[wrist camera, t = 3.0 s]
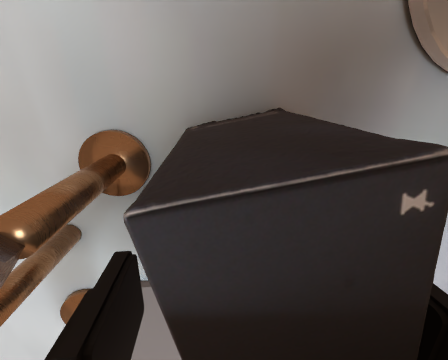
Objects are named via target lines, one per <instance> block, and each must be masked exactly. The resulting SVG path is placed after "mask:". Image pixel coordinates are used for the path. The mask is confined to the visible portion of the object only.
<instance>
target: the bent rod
mask: <svg viewBox="0 0 448 360" xmlns="http://www.w3.org/2000/svg"><path fill="white" fill-rule="evenodd" d="M78 159H79V167H80V171H78V172H76V173H74V174H73V175H71V176H69V177H67V178H66V179H64V180H62V181H60V182H59V183H57V184H55V185H53V186H52V187H50V188H48V189H46V190H45V191H43V192H41V193H39V194H37V195H36V196H34V197H32V198H30V199H29V200H27V201H25V202H23V203H22V204H20V205H18V206H16V207H15V208H13V209H11V210H9V211H8V212H6V213H4V214H2V215H0V326H1V325H2V324H3V323H4V322H5V321H6V320H7V319H8V318H9V317H10V315H11V314H12V313H13V312H14V311H15V310H16V309H17V308H18V307H19V306H20V304H21V303H22V302H23V301H24V300H25V299H26V298H27V297H28V296H29V295H30V293H31V292H32V291H33V290H34V289H35V288H36V287H37V286H38V285H39V284H40V282H41V281H42V280H43V279H44V278H45V277H46V276H47V275H48V274H49V273H50V271H51V270H52V269H53V268H54V267H55V266H56V265H57V264H58V263H59V262H60V260H61V259H62V258H63V257H64V256H65V255H66V254H67V253H68V252H69V251H70V249H71V248H72V247H73V246H74V245H75V244H76V243H77V242H78V241H79V240H80V238H81V232H80V230H79V229H78V228H77V227H75V226H73V225H66V224H67V223H68V222H70V221H71V220H72V219H73V218H74V217H75V216H76V215H77V214H79V213H80V212H81V211H82V210H83V209H84V208H85V207H86V206H88V205H89V204H90V203H91V202H92V201H93V200H94V199H95V198H96V197H98V196H99V195H100V194H101V193H105V194H108V195H113V196H124V195H128V194H131V193H133V192H135V191H137V190H138V189H139V188H140V187H141V186H142V185H143V184H144V183H145V181H146V180H147V178H148V176H149V174H150V168H151V162H150V157H149V154H148V152H147V150H146V148H145V147H144V146H143V144H142V143H141V142H140V141H139V140H138V139H136V138H135V137H134V136H132V135H130V134H128V133H126V132H123V131H118V130H107V131H103V132H100V133H97V134H94V135H92V136H91V137H89V138H88V139H87V140H86V141H85V142H84V143H83V145H82V146H81V149H80V152H79V157H78ZM24 258H26V259H25V260H24V261H23V262H22V263H21V264H20V265H18V266H17V267H16V268H15V269H14V270H13V271H12V269H13V268H14V266H15V264H16V263H17V261H18V259H24ZM11 271H12V272H11ZM88 290H89V289H83V290H79V291H76V292H74V293H72V294H71V295H70V296H69V297H68V298H67V299H66V301H65V302H64V303H63V305H62V307H61V310H60V315H61V318H62V320H63V321H64V323H65V324H67V322H68V321H69V319H70V318H71V316H72V314H73V313H74V311H75V309H76V308H77V306H78V305H79V303H80V301H81V300H82V298H83V297H84V295H85V293H86V292H87V291H88Z"/></svg>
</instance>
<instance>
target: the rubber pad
mask: <svg viewBox="0 0 448 360" xmlns="http://www.w3.org/2000/svg"><path fill="white" fill-rule="evenodd" d="M141 288H142V294H143V300H144V314H143V318H142V321H141V325H140V329H139V332H138V336H137V339H136V343H135V347H134V350H133V354H132V357H131V360H182V359H181V357H180V355H179V352H178V350H177V347H176V345H175V343H174V340H173V338H172V335H171V333H170V330H169V328H168V326H167V323H166V321H165V318H164V316H163V314H162V311H161V309H160V307H159V304H158V302H157V299H156V297H155V295H154V292H153V290H152V288H151V285H150V283H149V281H141Z"/></svg>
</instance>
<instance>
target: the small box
mask: <svg viewBox="0 0 448 360" xmlns="http://www.w3.org/2000/svg"><path fill="white" fill-rule="evenodd" d="M447 213H448V147H446V146H442V145H438V144H433V143H425V142H418V141H411V140H405V139H395V138H390V137H386V136H382V135H379V134H375V133H370V132H366V131H362V130H358V129H356V128H351V127H346V126H344V125H339V124H335V123H330V122H327V121H323V120H318V119H315V118H311V117H308V116H303V115H299V114H295V113H290V112H286V111H285V110H283V109H281V108H278V109H272V110H269V111H267V112H265V113H256V114H251V115H249V116H246V117H243V116H242V117H240V118H235V119H227V120H224V121H219V122H216V121H212V122H208V123H205V124H202V125H198V126H196V127H190V128H187V129H186V131H185V132H184V134H183V135H182V136H181V138H180V140H179V141H178V142H177V144H176V145H175V147H174V148H173V149H172V151H171V152H170V154H169V155H168V156H167V158H166V159H165V160H164V162H163V163H162V164H161V166H160V167H159V169H158V170H157V171H156V173H155V174H154V175H153V177H152V178H151V180H150V181H149V183H148V185H147V186H146V187H145V189H144V190H143V191H142V193H141V194H140V195H139V197H138V198H137V200H136V201H135V202H134V203H133V204H132V205H131V206H130V207H129V208H128V209H127V211H126V212H125V213H124V223H125V225H126V227H127V229H128V232H129V234H130V236H131V238H132V241H133V244H134V246H135V248H136V251H137V253H138V256H139V258H140V261H141V263H142V266H143V268H144V270H145V273H146V275H147V278H148V280H149V283H150V285H151V288H152V290H153V292H154V295H155V297H156V299H157V302H158V304H159V307H160V309H161V311H162V314H163V316H164V318H165V321H166V323H167V326H168V328H169V330H170V333H171V335H172V338H173V340H174V343H175V345H176V347H177V350H178V352H179V355H180V357H181V359H182V360H417V357H418V352H419V346H420V342H421V338H422V332H423V327H424V322H425V317H426V312H427V307H428V302H429V299H430V294H431V289H432V284H433V280H434V273H435V269H436V264H437V260H438V255H439V250H440V245H441V241H442V235H443V231H444V227H445V223H446V218H447Z"/></svg>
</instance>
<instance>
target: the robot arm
mask: <svg viewBox="0 0 448 360" xmlns="http://www.w3.org/2000/svg"><path fill="white" fill-rule="evenodd" d="M408 4H409V9H410V13H411V18H412V23H413V27H414V29H415V32H416V34H417V36H418V38H419V41H420V43H421V45H422V47H423V48H424V49H425V51H426V52H427V53H428V55H429V56H430V57H431V59H432V60H433V61H434V62H435V63H437V64H438V65H439V66H441V67H442V68H443V69H445V70H446V71H447V72H448V0H408ZM143 314H144V300H143V294H142V288H141V281H140V275H139V268H138V262H137V256H136V255H135V254H133V255H132V252H131V251H121V252H115V253H114V254H113V256H112V258H111V260H110V261H109V263H108V265H107V266H106V268H105V270H104V271H103V273H102V275H101V277H100V278H99V280H98V282H97V283H96V285H95V287H94V288H93V289H89V290H88V291H87V292H86V293H85V295H84V297H83V298H82V300H81V301H80V303H79V305H78V306H77V308H76V309H75V311H74V313H73V314H72V316H71V318H70V319H69V321H68V322H67V324H66V326H65V327H64V329H63V331H62V332H61V334H60V335H59V337H58V339H57V340H56V342H55V344H54V345H53V347H52V348H51V350H50V352H49V353H48V355H47V357H46V358H45V360H131V357H132V354H133V350H134V347H135V343H136V339H137V336H138V332H139V329H140V325H141V321H142V318H143ZM417 360H448V294H446V293H445V292H444V291H443V290H441V289H440V288H439V287H437V286H436V285H435V284H432V289H431V294H430V299H429V302H428V307H427V312H426V317H425V322H424V327H423V332H422V338H421V342H420V346H419V352H418V357H417Z"/></svg>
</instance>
